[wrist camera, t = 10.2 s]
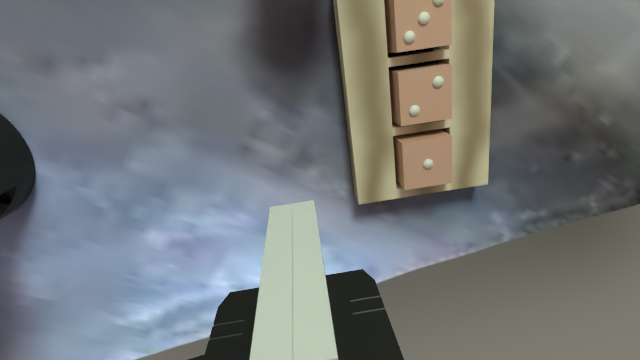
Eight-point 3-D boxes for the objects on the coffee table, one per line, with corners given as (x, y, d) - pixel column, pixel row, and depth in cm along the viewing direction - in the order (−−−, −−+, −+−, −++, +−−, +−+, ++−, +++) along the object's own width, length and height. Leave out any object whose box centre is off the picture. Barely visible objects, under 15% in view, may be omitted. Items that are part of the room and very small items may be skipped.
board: (354, 195, 45) (358, 204, 42) (331, -14, 37) (334, -20, 34) (475, 176, 45) (487, 184, 43) (480, -35, 37) (495, -42, 34)
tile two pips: (390, 118, 42) (401, 126, 37) (386, 70, 40) (398, 72, 35) (435, 111, 42) (452, 118, 37) (434, 63, 40) (452, 64, 35)
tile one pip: (393, 177, 44) (405, 190, 40) (391, 134, 42) (402, 143, 38) (437, 170, 44) (453, 183, 40) (436, 127, 42) (453, 136, 38)
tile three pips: (385, 52, 39) (397, 52, 35) (381, -3, 37) (394, -11, 33) (434, 45, 39) (452, 44, 35) (433, -11, 37) (452, -19, 33)
